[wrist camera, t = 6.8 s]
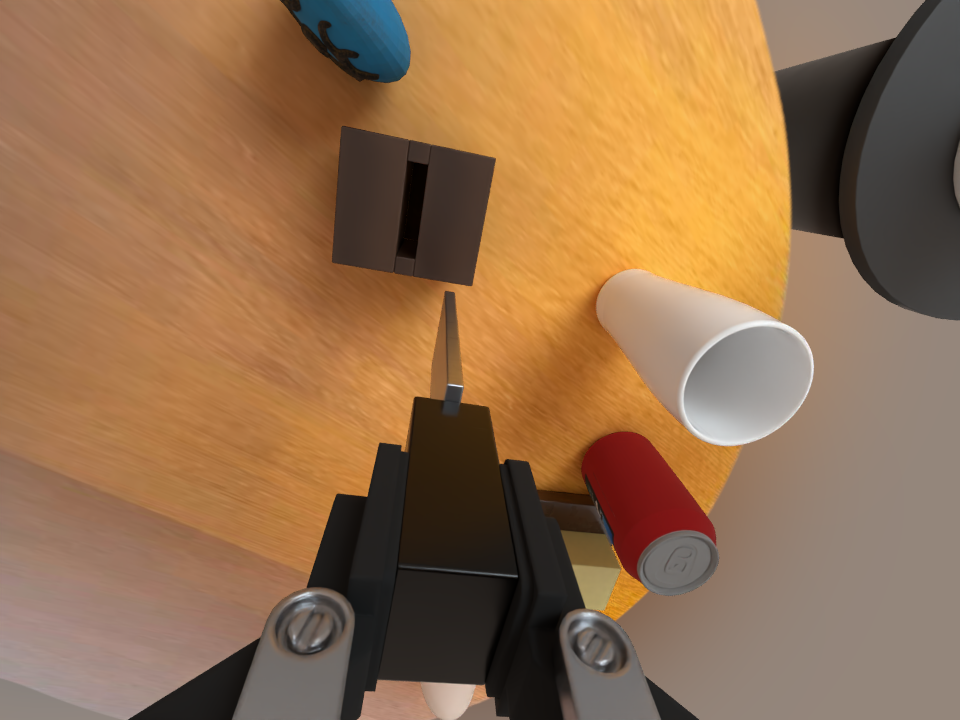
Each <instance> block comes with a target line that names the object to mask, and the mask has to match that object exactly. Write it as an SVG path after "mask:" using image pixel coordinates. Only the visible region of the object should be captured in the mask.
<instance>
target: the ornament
mask: <svg viewBox="0 0 960 720" xmlns="http://www.w3.org/2000/svg"><path fill="white" fill-rule="evenodd" d="M280 1H281V2H282V3H283V4H284V5H285V6H286V7H287V9H288V10H289V11H290V13H291V14H292V15H293V17H294V18H295V19H296V21H297V22H298V23H299V25H300V26H301V29H302V32H303V34H304V35H305V37H306V38H307V39H308V40H309V41H310V42H311V43H312V45H313V46H314V47H315V48H316V49H317V50H318V51H319V52H320V53H321V54H323V55H324V56H326V57H327V58H330V59H331V60H332V61H333V62H334V63H335V64H336V65H337V66H339V67H340V68H341V69H342V70H344V71H345V72H346V73H347V74H349V75H350V76H352V77H353V78H355V79H356V80H358V81H362V80H364V79H366V80H371V81H376V82H383V83H390V82H394V81H398V80H400V79H401V78H402V77H403V76H404V75H405V74H406V72H407V70H408V68H409V65H410V54H411V51H410V46H409V41H408V35H407V33H406V30H405V28H404V25H403V22H402V20H401V17H400V15H399V13H398V12H397V10H396V8H395V6H394V4H393V2H392V1H391V0H280Z"/></svg>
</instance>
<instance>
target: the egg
mask: <svg viewBox="0 0 960 720" xmlns="http://www.w3.org/2000/svg"><path fill="white" fill-rule="evenodd" d="M475 686H476V685H468V684H449V683H430V682H421V689H422V692H423V695H424V698H425V700H426V703H427V705H428V706H429V708H430V710H431V712H432V713H433V714H434V715H435V716H436V717H438V718H440V719H441V720H455V719H457V718H459V717H460V716H461V715H462V714H463V713H464V712H465V711H466V709H467V708H468V706H469V704H470V701H471V699H472V697H473V693H474V690H475Z"/></svg>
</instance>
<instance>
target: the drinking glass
mask: <svg viewBox="0 0 960 720" xmlns="http://www.w3.org/2000/svg"><path fill="white" fill-rule="evenodd" d="M596 313H597V317H598V320H599V322H600V324H601V325H602V327H603V328H604V329H605V330H606V331H607V332H608V333H609V334H610V335H611V337H612V338H613V339H614V341H615V342H616V344H617V345H618V346H619V348H620V349H621V351H622V352H623V353H624V355H625V356H626V358H627V359H628V361H629V362H630V364H631V365H632V366H633V368H634V369H635V371H636V372H637V374H638V375H639V377H640V378H641V379H642V381H643V382H644V384H645V385H646V386H647V388H648V389H649V390H650V392H651V393H652V394H653V395H654V396H655V398H656V399H657V400H658V401H659V402H660V403H661V404H662V406H663V407H664V408H665V409H666V410H667V411H668V412H669V413H670V414H671V415H672V416H673V417H674V418H675V419H676V420H678V421H679V422H680V423H681V424H682V425H683V426H684V427H685V428H686V429H687V430H688V431H689V432H690V433H691V434H693V435H694V436H695V437H697V438H698V439H700V440H702V441H704V442H707V443H710V444H714V445H719V446H737V445H743V444H747V443H751V442H754V441H756V440H759V439H761V438H764V437H765V436H767V435H769V434H771V433H773V432H774V431H776V430H777V429H779V428H780V427H781V426H783V425H784V424H785V423H786V422H787V421H788V420H789V419H790V418H791V417H792V416H793V415H794V414H795V413H796V411H797V410H798V409H799V408H800V406H801V405H802V403H803V402H804V400H805V398H806V396H807V394H808V392H809V390H810V387H811V384H812V380H813V374H814V361H813V355H812V352H811V349H810V347H809V345H808V343H807V341H806V340H805V339H804V337H803V336H802V335H801V334H800V333H799V332H798V331H796V330H795V329H793V328H792V327H790V326H788V325H786V324H784V323H783V322H781V321H779V320H777V319H775V318H774V317H772V316H770V315H768V314H766V313H764V312H762V311H760V310H758V309H756V308H754V307H752V306H749V305H747V304H745V303H742V302H740V301H737V300H734V299H732V298H729V297H726V296H723V295H720V294H717V293H713V292H710V291H707V290H703V289H700V288H696V287H693V286H690V285H686V284H683V283H680V282H676V281H673V280H670V279H667V278H663V277H660V276H657V275H655V274H653V273H651V272H649V271H646V270H643V269H628V270H624V271H622V272H619V273H617V274H615V275H614V276H612V277H611V278H610V279H609V280H608V281H607V282H606V283H605V284H604V285H603V287H602V288H601V290H600V292H599V294H598V297H597V301H596Z"/></svg>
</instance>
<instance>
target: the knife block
mask: <svg viewBox="0 0 960 720" xmlns="http://www.w3.org/2000/svg"><path fill="white" fill-rule="evenodd" d="M495 161H496V158H493V157H488V156H483V155H479V154H474V153H469V152H464V151H460V150H455V149H450V148H446V147H441V146H436V145H431V144H427V143H422V142H417V141H413V140H410V141H409V140H408V139H403V138H398V137H394V136H389V135H384V134H379V133H375V132H370V131H365V130H361V129H356V128H351V127H346V126H342V127H341V139H340V154H339V168H338V182H337V196H336V211H335V225H334V239H333V253H332V262H333V263H337V264H343V265H349V266H355V267H361V268H367V269H373V270H378V271H384V272H390V273H393V272H394V273H396V274H402V275H408V276H414V277H419V278H425V279H431V280H437V281H443V282H449V283H455V284H461V285H466V286H472V284H473V278H474V273H475V268H476V262H477V257H478V252H479V246H480V241H481V236H482V230H483V225H484V220H485V214H486V209H487V204H488V198H489V193H490V188H491V182H492V177H493V171H494V166H495ZM414 162H416V163H421V164H426V165H428V171H427V178H426V186H425V193H424V200H423V207H422V215H421V222H420V229H419V237H418V240H412V239H407V238H405V230H406V222H407V214H408V206H409V198H410V190H411V182H412V174H413V167H414ZM404 238H405V239H404Z"/></svg>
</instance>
